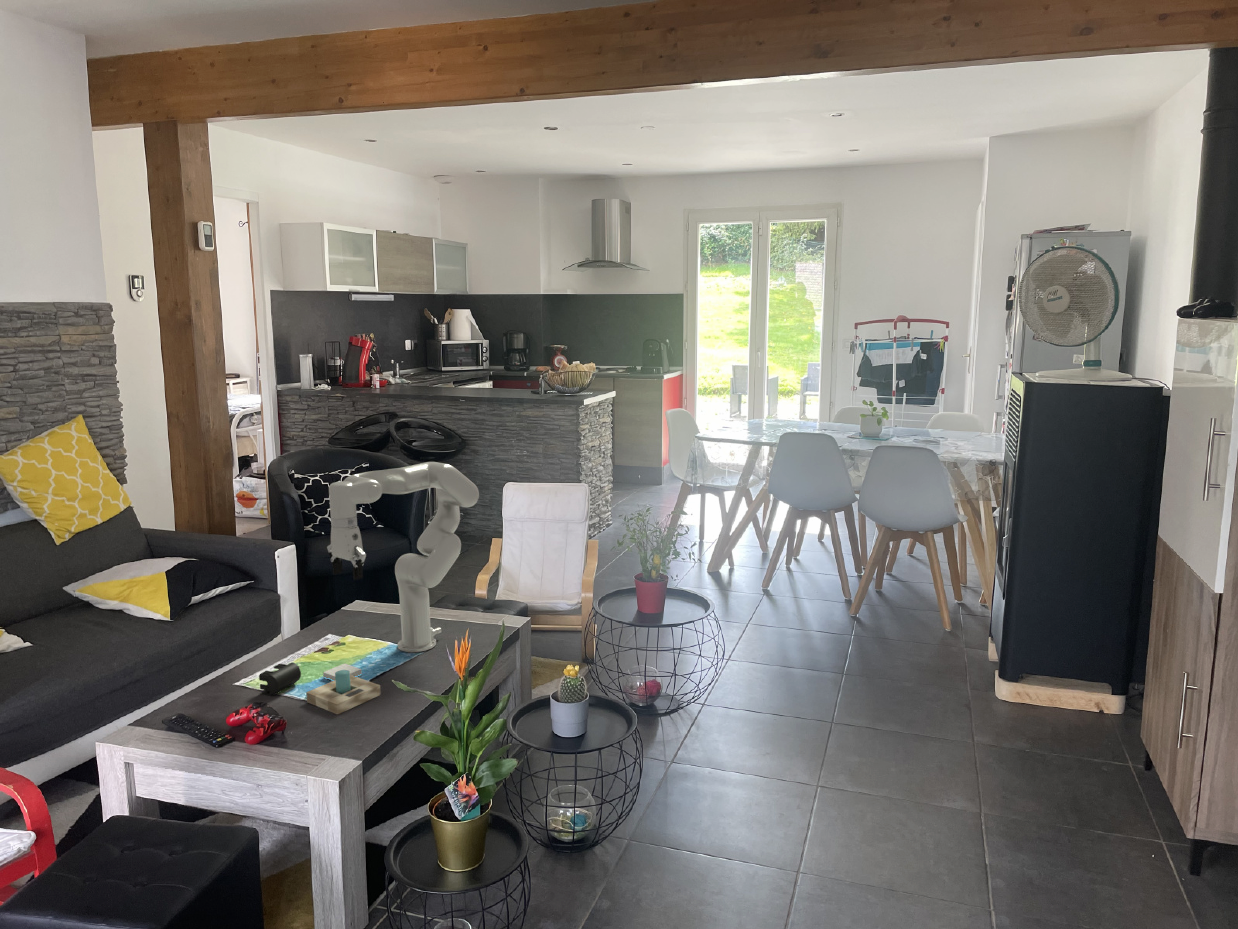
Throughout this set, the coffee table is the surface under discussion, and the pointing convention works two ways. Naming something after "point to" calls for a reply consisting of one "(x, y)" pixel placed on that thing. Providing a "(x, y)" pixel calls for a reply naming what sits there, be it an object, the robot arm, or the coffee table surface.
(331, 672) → the light grey square slab
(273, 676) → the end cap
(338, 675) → the teal peg
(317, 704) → the plate
